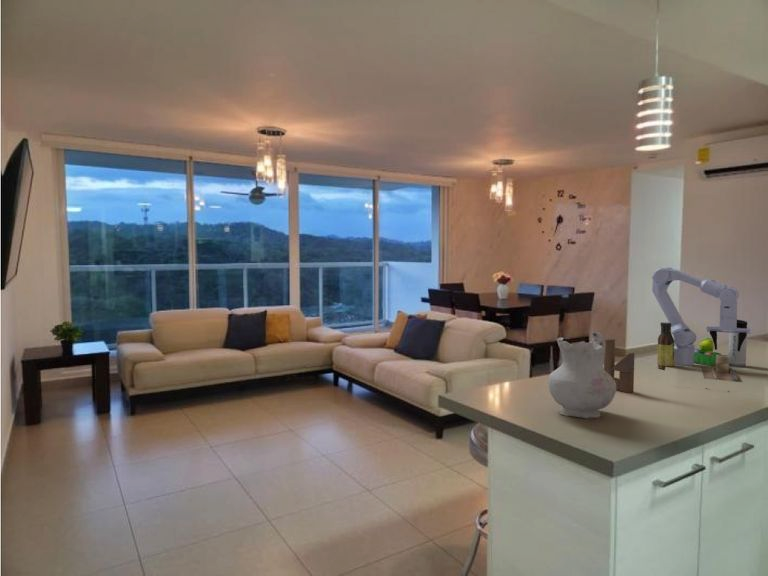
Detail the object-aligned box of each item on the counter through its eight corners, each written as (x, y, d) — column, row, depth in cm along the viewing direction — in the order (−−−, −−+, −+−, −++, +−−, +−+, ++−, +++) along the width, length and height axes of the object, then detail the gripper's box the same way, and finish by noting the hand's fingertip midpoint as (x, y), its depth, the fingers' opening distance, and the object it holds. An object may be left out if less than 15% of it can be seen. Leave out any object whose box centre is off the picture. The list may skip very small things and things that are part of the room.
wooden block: (627, 393, 176) (629, 342, 175) (600, 386, 186) (601, 338, 184) (634, 391, 178) (635, 341, 177) (606, 385, 188) (608, 337, 186)
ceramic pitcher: (565, 402, 170) (560, 329, 170) (627, 408, 158) (622, 330, 157) (541, 419, 154) (535, 338, 153) (607, 427, 141) (602, 339, 141)
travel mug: (739, 363, 221) (741, 319, 220) (748, 367, 215) (750, 321, 213) (724, 363, 222) (726, 318, 221) (733, 366, 215) (735, 320, 214)
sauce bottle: (676, 370, 210) (677, 323, 208) (660, 370, 211) (661, 323, 209) (670, 367, 216) (671, 321, 215) (654, 366, 217) (655, 321, 216)
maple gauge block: (714, 371, 202) (715, 356, 201) (713, 368, 206) (714, 354, 206) (728, 372, 199) (729, 357, 199) (727, 369, 204) (727, 355, 203)
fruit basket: (685, 361, 227) (686, 337, 226) (697, 359, 230) (698, 335, 230) (710, 366, 216) (711, 340, 216) (723, 364, 220) (724, 339, 219)
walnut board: (703, 382, 191) (704, 376, 190) (700, 370, 210) (701, 364, 209) (742, 385, 185) (742, 379, 184) (735, 373, 204) (735, 367, 204)
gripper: (707, 317, 204) (706, 350, 204) (751, 319, 196) (750, 353, 197) (706, 315, 210) (705, 347, 210) (749, 317, 202) (748, 350, 203)
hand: (727, 350), depth 204 cm, fingers open, 7 cm apart
